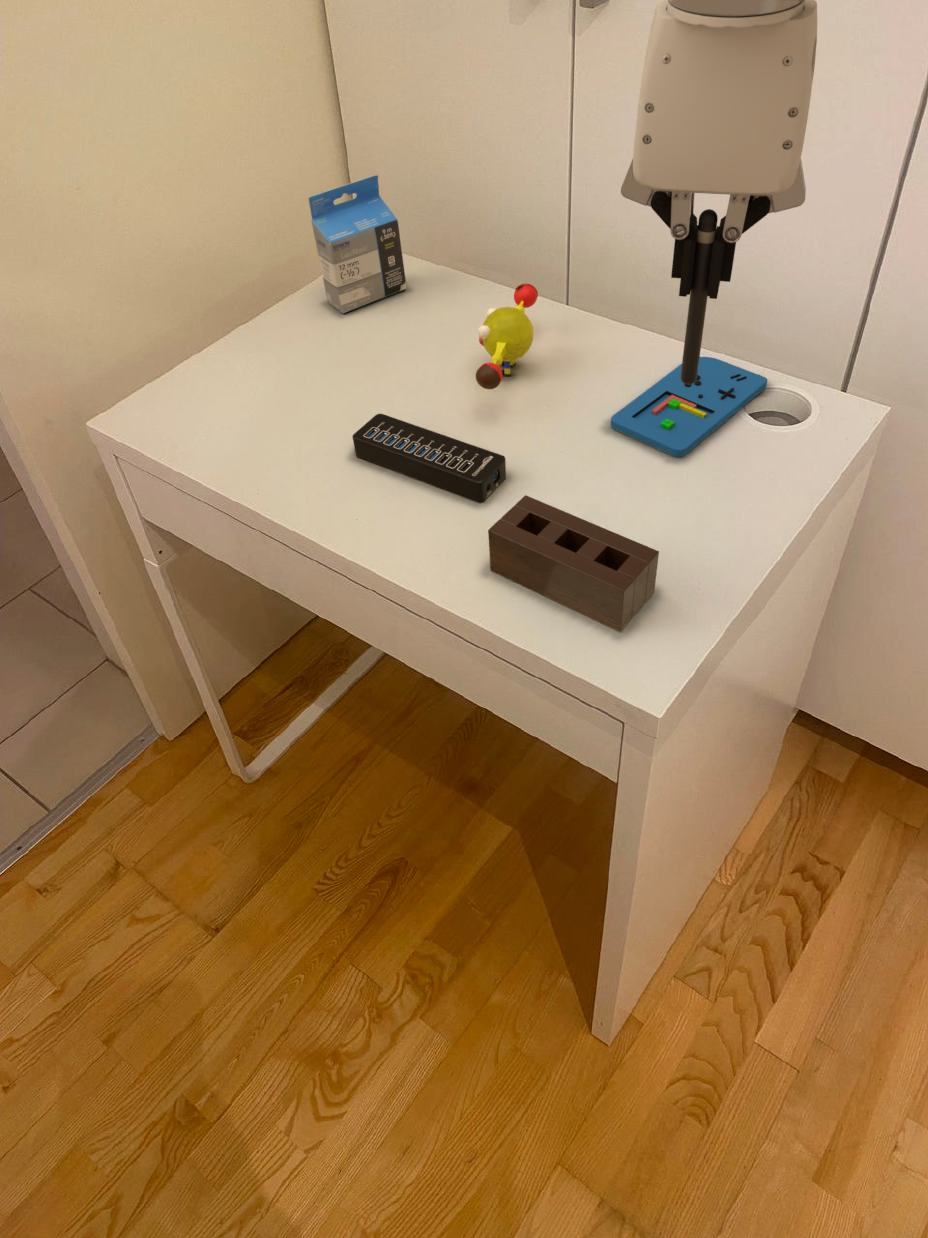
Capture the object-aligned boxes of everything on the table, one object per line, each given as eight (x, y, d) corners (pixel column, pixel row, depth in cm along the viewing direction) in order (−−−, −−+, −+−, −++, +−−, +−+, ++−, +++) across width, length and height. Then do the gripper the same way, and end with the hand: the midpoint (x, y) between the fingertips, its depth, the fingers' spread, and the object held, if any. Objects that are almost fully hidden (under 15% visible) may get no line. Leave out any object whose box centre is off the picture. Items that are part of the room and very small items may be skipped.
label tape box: (342, 315, 109) (323, 208, 100) (325, 301, 111) (306, 195, 102) (407, 290, 112) (395, 184, 103) (390, 277, 114) (376, 172, 105)
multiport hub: (381, 431, 93) (378, 411, 91) (508, 476, 87) (507, 456, 85) (353, 456, 91) (350, 436, 89) (482, 504, 85) (480, 483, 83)
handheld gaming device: (770, 375, 93) (681, 449, 86) (768, 385, 94) (680, 459, 87) (698, 348, 97) (607, 416, 90) (697, 357, 98) (607, 426, 91)
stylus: (696, 379, 72) (719, 205, 63) (695, 388, 72) (718, 214, 62) (680, 377, 73) (700, 205, 63) (678, 387, 72) (699, 213, 62)
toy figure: (502, 323, 106) (500, 264, 101) (551, 327, 104) (551, 268, 99) (458, 417, 94) (453, 356, 89) (513, 423, 93) (511, 362, 88)
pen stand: (526, 535, 81) (525, 494, 78) (654, 592, 76) (659, 551, 73) (490, 570, 79) (487, 529, 75) (620, 632, 73) (624, 591, 70)
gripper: (885, -41, 54) (817, 270, 67) (610, -40, 57) (598, 255, 71) (888, -2, 49) (814, 325, 62) (587, -3, 52) (579, 306, 66)
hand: (699, 286), depth 66 cm, fingers closed on stylus, 1 cm apart
